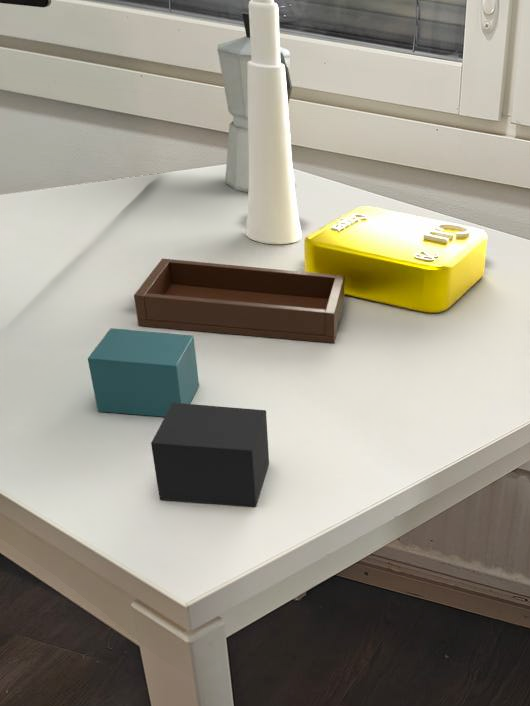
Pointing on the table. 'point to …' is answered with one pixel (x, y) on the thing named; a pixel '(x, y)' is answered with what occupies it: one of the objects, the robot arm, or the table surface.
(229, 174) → the coffee maker
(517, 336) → the table surface
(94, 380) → the teal block
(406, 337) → the table surface
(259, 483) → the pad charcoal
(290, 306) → the tray
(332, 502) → the table surface
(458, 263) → the element tile
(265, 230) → the cosmetic bottle
